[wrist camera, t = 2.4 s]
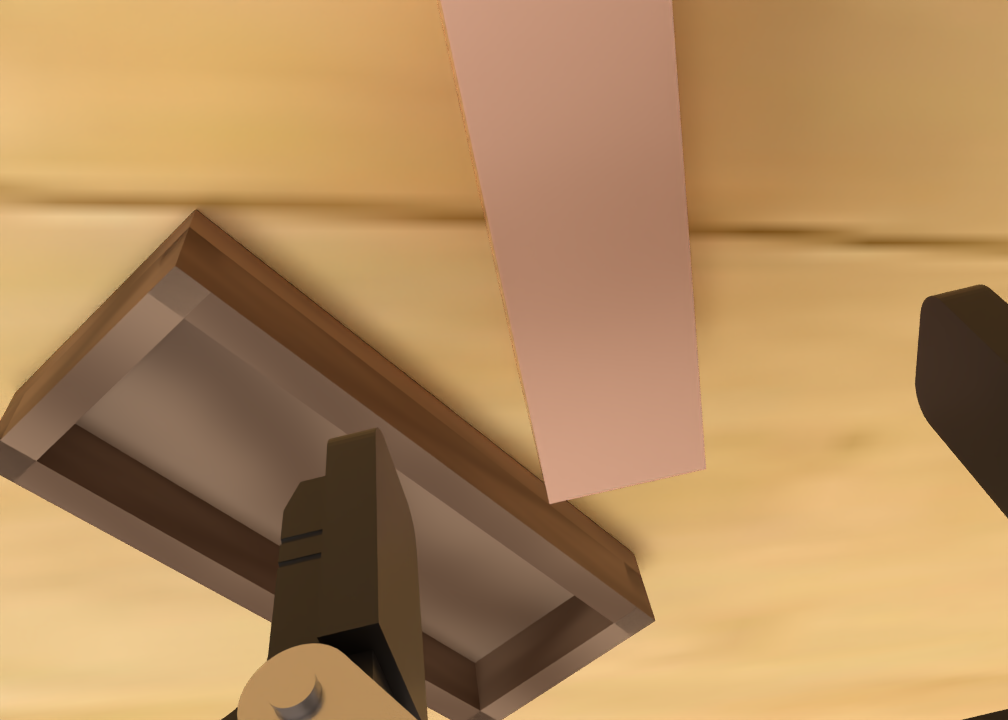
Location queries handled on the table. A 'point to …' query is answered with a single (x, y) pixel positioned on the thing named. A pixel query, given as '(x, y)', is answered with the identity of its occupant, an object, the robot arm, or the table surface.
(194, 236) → the tray
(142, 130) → the table surface
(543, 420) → the clay strip
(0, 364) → the table surface
